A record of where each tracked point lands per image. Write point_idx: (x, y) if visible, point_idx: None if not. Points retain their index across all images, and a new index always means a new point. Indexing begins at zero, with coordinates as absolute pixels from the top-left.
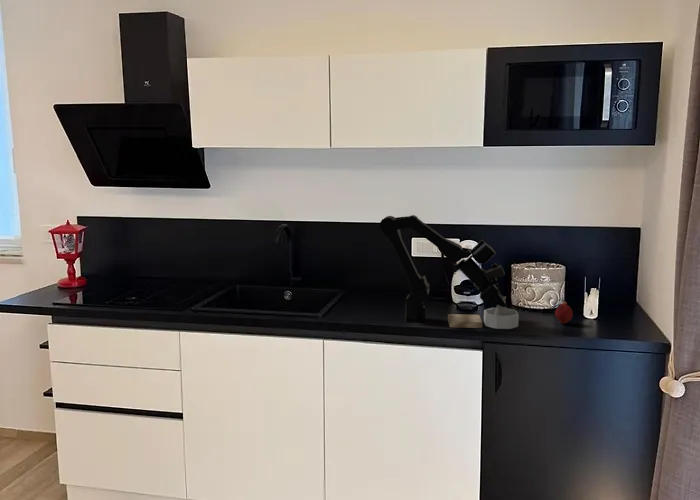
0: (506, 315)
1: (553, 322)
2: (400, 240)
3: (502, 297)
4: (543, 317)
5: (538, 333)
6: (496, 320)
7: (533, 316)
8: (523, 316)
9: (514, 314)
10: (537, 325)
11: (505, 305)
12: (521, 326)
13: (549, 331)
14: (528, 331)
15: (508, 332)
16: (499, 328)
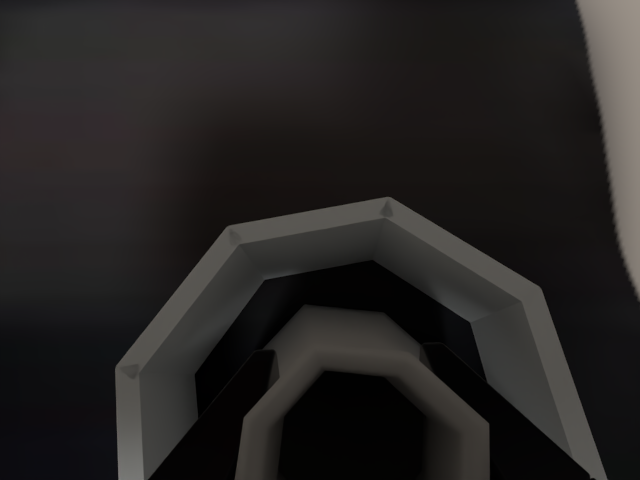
0: (394, 346)
1: (187, 3)
2: None
3: (475, 442)
4: (48, 61)
5: (531, 95)
6: None
7: (20, 128)
8: (22, 203)
9: (435, 243)
10: (297, 101)
11: (450, 357)
12: None
13: (445, 28)
14: (503, 163)
15: (608, 326)
16: None
